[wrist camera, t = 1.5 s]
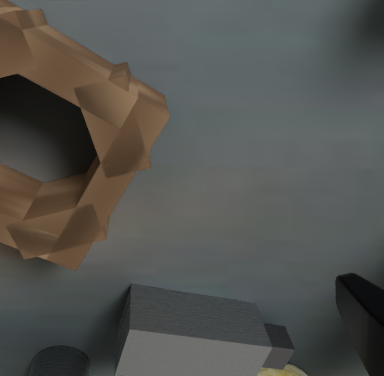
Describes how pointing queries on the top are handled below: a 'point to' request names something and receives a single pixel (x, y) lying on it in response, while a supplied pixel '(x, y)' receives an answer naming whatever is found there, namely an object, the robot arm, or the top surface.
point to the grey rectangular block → (195, 336)
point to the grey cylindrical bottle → (60, 362)
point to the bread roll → (282, 371)
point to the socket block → (99, 130)
